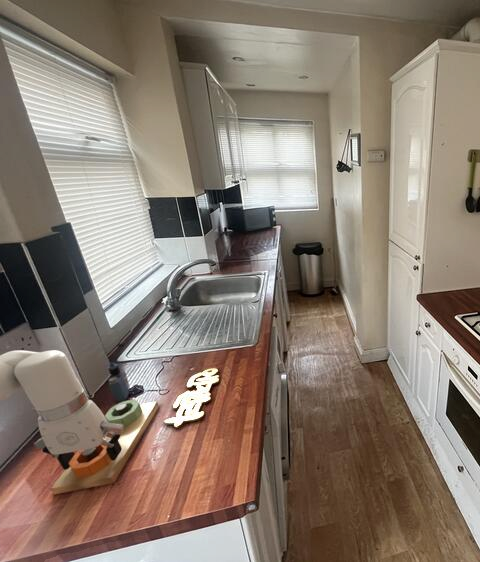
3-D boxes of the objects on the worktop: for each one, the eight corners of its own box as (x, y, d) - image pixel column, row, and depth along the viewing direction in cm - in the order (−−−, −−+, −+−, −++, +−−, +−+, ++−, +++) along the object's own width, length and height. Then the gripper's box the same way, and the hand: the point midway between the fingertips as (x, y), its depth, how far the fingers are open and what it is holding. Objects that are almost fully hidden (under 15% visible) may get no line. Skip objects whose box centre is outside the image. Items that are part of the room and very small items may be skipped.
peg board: (53, 494, 69) (42, 476, 66) (114, 413, 90) (107, 397, 88) (114, 482, 71) (104, 464, 68) (159, 406, 93) (153, 390, 90)
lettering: (194, 372, 107) (193, 370, 106) (224, 368, 108) (224, 366, 108) (161, 430, 84) (160, 428, 84) (200, 424, 85) (199, 422, 85)
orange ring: (67, 480, 70) (61, 471, 68) (87, 452, 76) (82, 444, 75) (103, 473, 71) (98, 464, 70) (120, 446, 77) (115, 438, 76)
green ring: (103, 430, 82) (99, 422, 81) (118, 410, 89) (114, 402, 88) (133, 425, 84) (130, 417, 82) (146, 406, 90) (142, 398, 89)
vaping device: (130, 390, 99) (118, 360, 95) (125, 401, 95) (111, 370, 90) (121, 392, 98) (107, 362, 94) (115, 404, 94) (100, 372, 89)
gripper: (0, 426, 62) (39, 483, 68) (98, 410, 65) (126, 466, 71) (30, 399, 68) (63, 453, 75) (117, 386, 71) (142, 439, 78)
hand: (94, 459), depth 73 cm, fingers open, 9 cm apart
